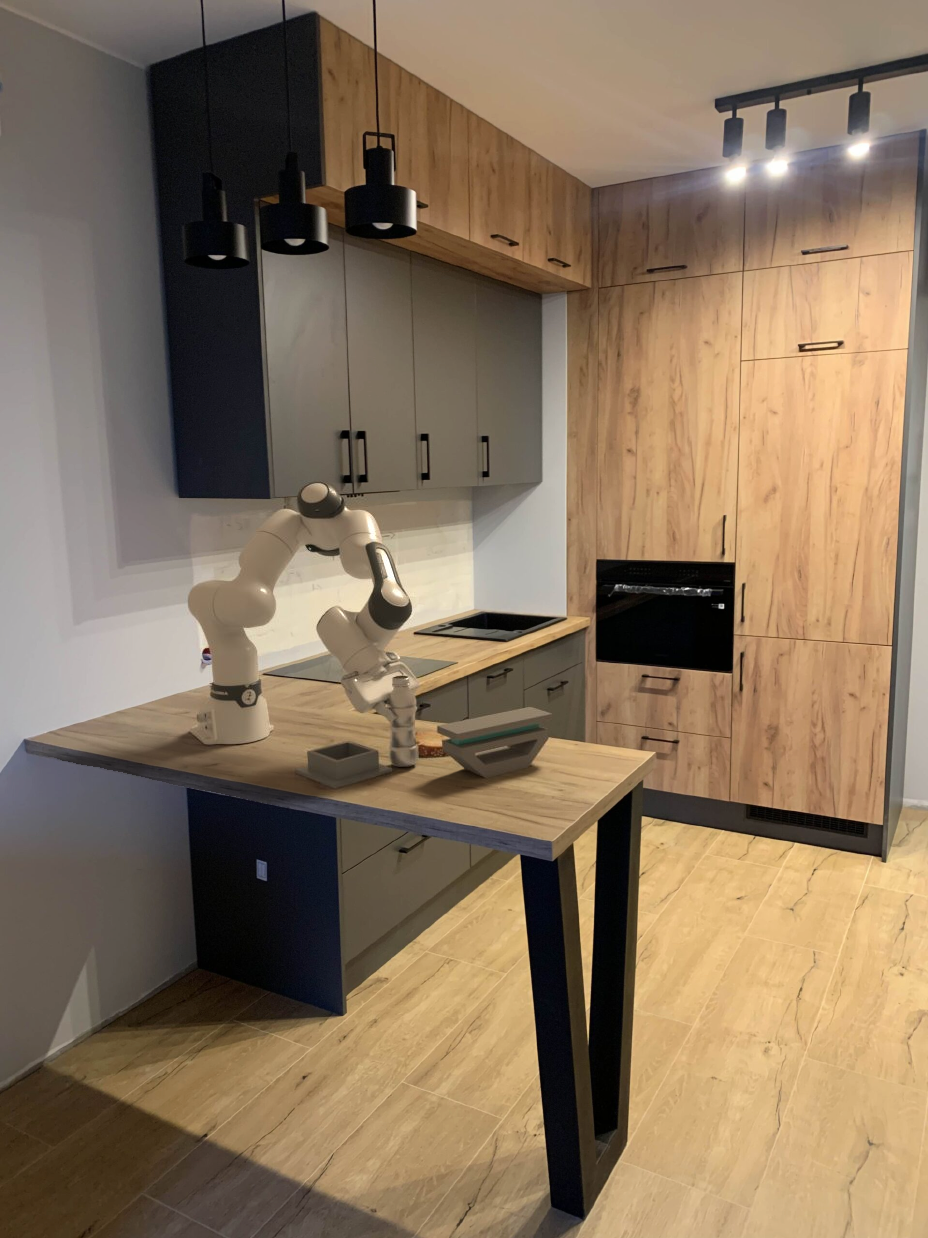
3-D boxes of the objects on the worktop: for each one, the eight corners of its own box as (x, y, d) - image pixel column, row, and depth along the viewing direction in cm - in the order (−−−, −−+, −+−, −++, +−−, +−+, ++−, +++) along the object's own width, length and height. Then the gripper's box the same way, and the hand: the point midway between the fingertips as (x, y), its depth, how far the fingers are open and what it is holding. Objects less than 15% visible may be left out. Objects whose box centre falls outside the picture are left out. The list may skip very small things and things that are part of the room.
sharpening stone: (530, 753, 213) (530, 706, 211) (552, 761, 206) (552, 713, 205) (438, 775, 199) (437, 725, 197) (458, 784, 193) (457, 734, 191)
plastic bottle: (418, 769, 203) (415, 680, 200) (387, 770, 203) (384, 681, 200) (420, 760, 209) (417, 673, 206) (389, 761, 209) (386, 674, 206)
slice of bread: (494, 741, 224) (494, 726, 223) (462, 763, 208) (462, 747, 207) (428, 734, 231) (427, 719, 231) (392, 755, 215) (392, 739, 215)
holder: (295, 772, 203) (294, 751, 202) (351, 757, 213) (350, 737, 212) (334, 789, 192) (333, 766, 191) (392, 771, 202) (391, 750, 201)
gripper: (344, 668, 197) (383, 718, 194) (401, 651, 214) (437, 697, 211) (329, 686, 200) (367, 736, 197) (386, 668, 217) (422, 714, 214)
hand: (404, 716), depth 204 cm, fingers closed on plastic bottle, 6 cm apart
